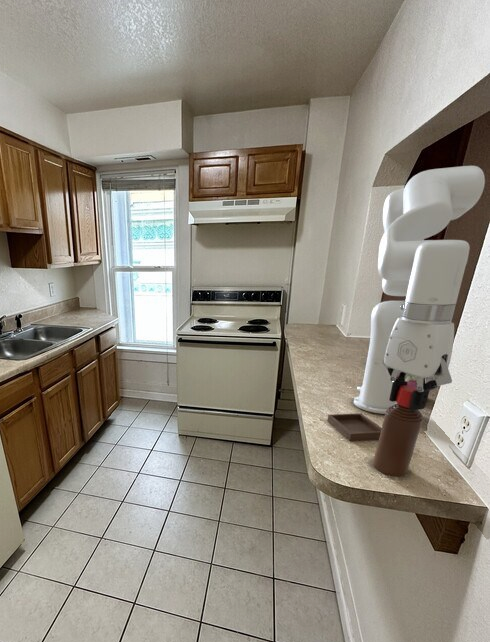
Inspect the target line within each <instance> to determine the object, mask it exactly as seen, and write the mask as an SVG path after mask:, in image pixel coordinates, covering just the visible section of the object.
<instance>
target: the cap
mask: <svg viewBox="0 0 490 642" xmlns="http://www.w3.org/2000/svg"><path fill="white" fill-rule="evenodd" d="M414 390H417V387H415V386H411V385H402V386H400V389H399V391H398V395H397V398H396V402H397V404H399V405H401V406H404V407H409V406H410V402H411V397H412V393H413V391H414Z"/></svg>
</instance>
